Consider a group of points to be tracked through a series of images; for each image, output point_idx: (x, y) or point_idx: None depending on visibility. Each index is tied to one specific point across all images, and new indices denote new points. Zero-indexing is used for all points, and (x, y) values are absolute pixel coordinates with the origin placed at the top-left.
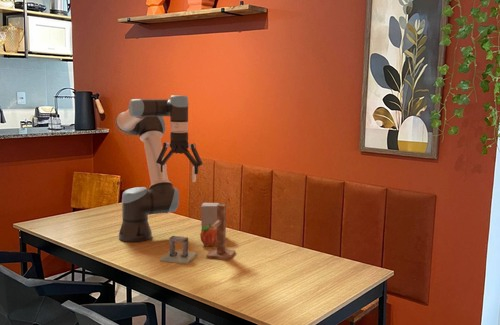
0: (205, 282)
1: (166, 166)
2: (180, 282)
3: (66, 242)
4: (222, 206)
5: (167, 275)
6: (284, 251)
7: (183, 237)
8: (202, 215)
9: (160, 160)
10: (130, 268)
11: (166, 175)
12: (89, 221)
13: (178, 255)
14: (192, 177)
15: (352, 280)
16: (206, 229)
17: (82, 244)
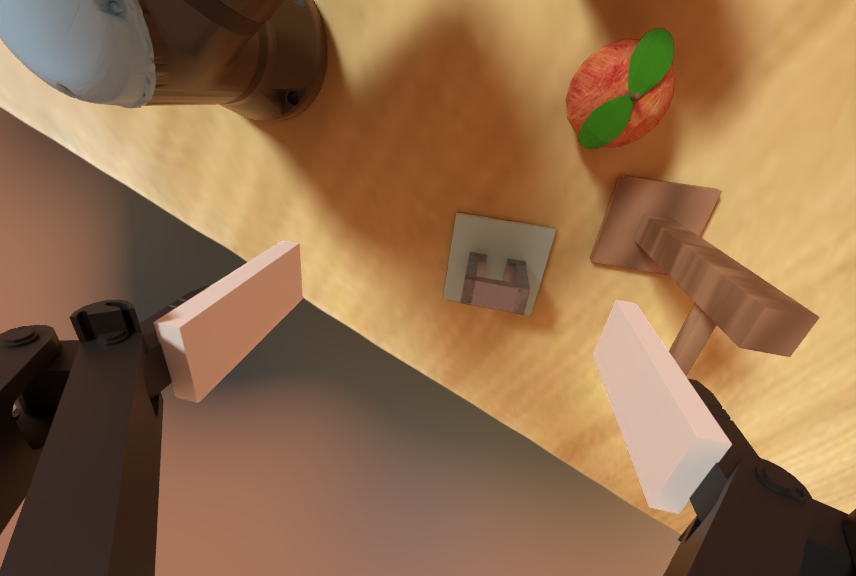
0: (589, 418)
1: (203, 316)
2: (527, 417)
3: (97, 159)
4: (777, 353)
5: (489, 383)
6: None
7: (512, 294)
8: None
9: (30, 375)
10: (385, 347)
11: (278, 262)
12: None
13: (492, 262)
14: (606, 389)
15: None
16: (609, 141)
17: (153, 172)
